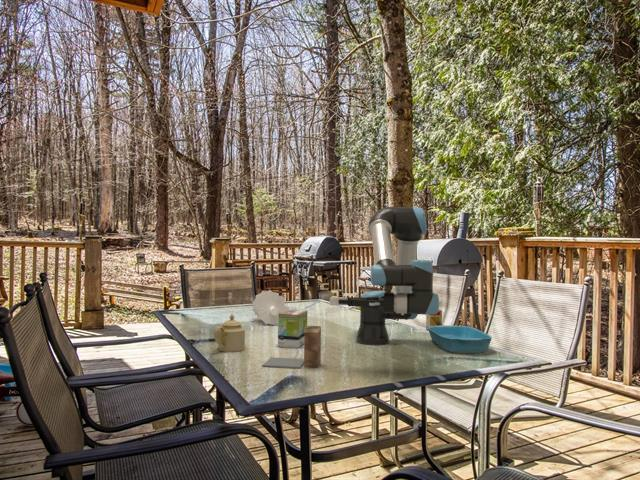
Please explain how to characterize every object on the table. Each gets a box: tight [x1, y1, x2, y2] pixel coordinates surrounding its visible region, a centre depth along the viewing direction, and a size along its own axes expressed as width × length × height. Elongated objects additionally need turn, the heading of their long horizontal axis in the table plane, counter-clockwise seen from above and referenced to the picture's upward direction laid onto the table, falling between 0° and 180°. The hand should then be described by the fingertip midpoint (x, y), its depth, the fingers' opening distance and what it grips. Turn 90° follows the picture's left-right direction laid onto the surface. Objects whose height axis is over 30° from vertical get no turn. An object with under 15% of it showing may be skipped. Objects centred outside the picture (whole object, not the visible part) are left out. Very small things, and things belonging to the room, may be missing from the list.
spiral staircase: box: [252, 289, 290, 326], centre depth 268 cm, size 18×18×25 cm
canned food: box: [425, 308, 443, 331], centre depth 242 cm, size 8×8×12 cm
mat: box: [261, 357, 304, 370], centre depth 177 cm, size 14×12×1 cm
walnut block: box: [303, 325, 322, 369], centre depth 176 cm, size 5×7×14 cm
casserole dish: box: [428, 324, 493, 354], centre depth 211 cm, size 37×22×7 cm, turn 2°
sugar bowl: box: [213, 313, 246, 353], centre depth 198 cm, size 15×11×15 cm
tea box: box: [277, 309, 308, 349], centre depth 212 cm, size 15×10×15 cm, turn 168°
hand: (330, 301), depth 174 cm, fingers closed
